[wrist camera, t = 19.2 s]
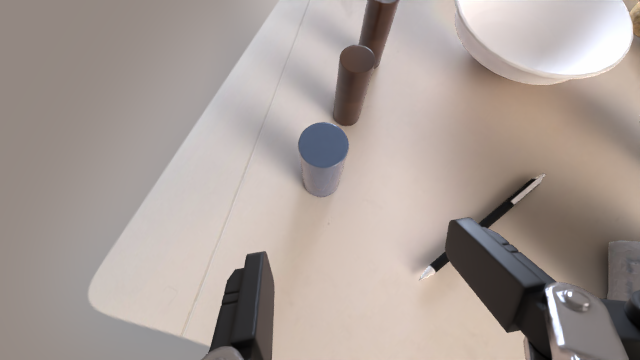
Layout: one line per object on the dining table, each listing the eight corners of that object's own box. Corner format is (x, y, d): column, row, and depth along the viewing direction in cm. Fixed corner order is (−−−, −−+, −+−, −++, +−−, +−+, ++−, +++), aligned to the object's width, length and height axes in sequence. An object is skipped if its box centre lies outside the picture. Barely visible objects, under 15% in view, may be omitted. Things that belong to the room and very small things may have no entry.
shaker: (298, 189, 28) (290, 157, 19) (311, 158, 29) (309, 115, 21) (331, 202, 27) (339, 175, 19) (343, 170, 29) (355, 131, 20)
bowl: (608, 89, 33) (675, 49, 27) (477, 131, 31) (517, 99, 24) (523, -13, 39) (562, -64, 33) (407, 16, 36) (425, -33, 30)
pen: (543, 178, 29) (552, 175, 28) (420, 283, 25) (425, 284, 24) (537, 172, 29) (545, 169, 28) (414, 275, 25) (419, 276, 24)
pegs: (329, 121, 31) (334, 66, 22) (359, 48, 34) (374, -23, 26) (354, 129, 30) (369, 77, 22) (382, 55, 34) (404, -15, 25)
